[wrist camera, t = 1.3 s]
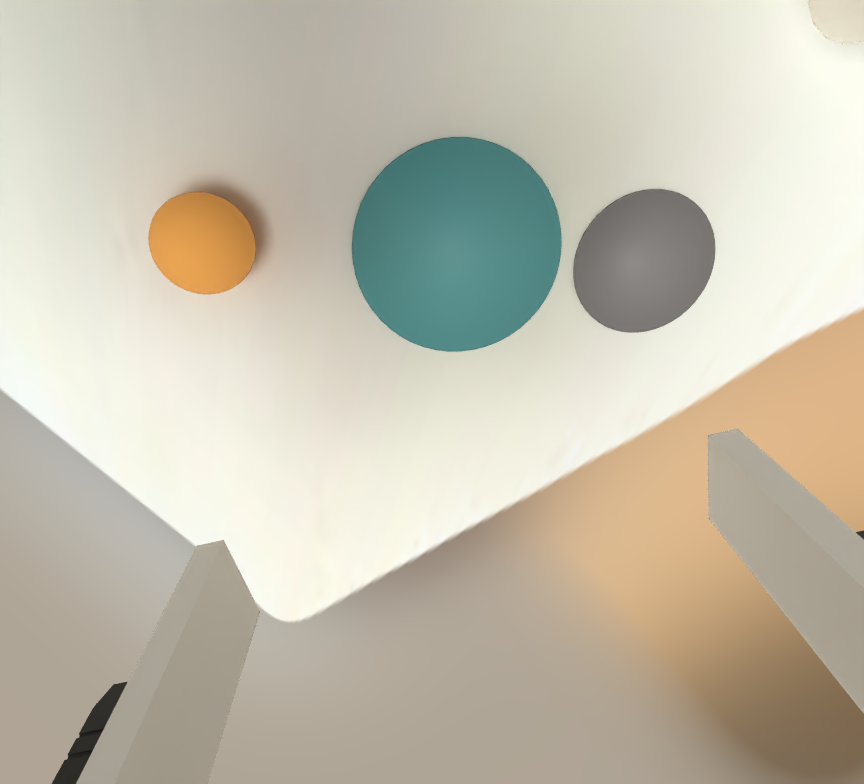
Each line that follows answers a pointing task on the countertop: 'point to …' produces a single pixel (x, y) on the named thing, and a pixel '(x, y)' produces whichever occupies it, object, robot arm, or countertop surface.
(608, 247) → the disc
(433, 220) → the disc
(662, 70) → the countertop surface
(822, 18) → the shot glass
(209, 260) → the ball
